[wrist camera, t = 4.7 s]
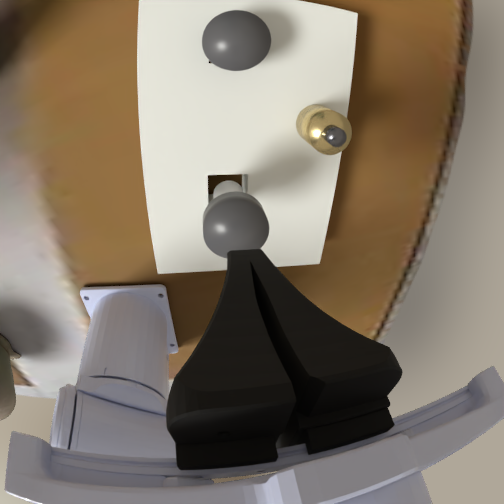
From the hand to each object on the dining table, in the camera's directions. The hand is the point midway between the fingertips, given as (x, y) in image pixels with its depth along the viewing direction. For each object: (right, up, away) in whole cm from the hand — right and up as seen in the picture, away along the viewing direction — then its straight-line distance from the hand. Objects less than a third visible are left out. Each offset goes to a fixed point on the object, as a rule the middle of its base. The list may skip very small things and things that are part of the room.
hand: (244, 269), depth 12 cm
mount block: (0, +8, +6) cm, 10 cm away
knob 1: (-1, +13, +2) cm, 13 cm away
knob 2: (-1, +4, +6) cm, 7 cm away
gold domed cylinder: (+4, +8, +4) cm, 10 cm away
